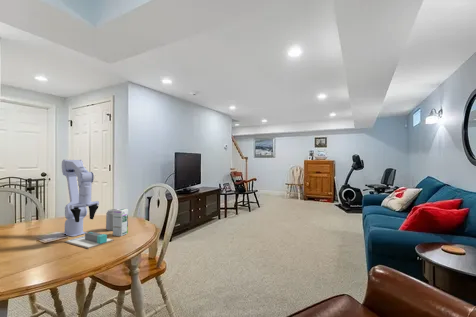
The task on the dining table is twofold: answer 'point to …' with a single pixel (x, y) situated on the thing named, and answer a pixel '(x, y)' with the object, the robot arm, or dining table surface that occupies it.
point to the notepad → (85, 242)
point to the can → (109, 220)
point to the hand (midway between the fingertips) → (84, 220)
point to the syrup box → (120, 222)
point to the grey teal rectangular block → (96, 237)
